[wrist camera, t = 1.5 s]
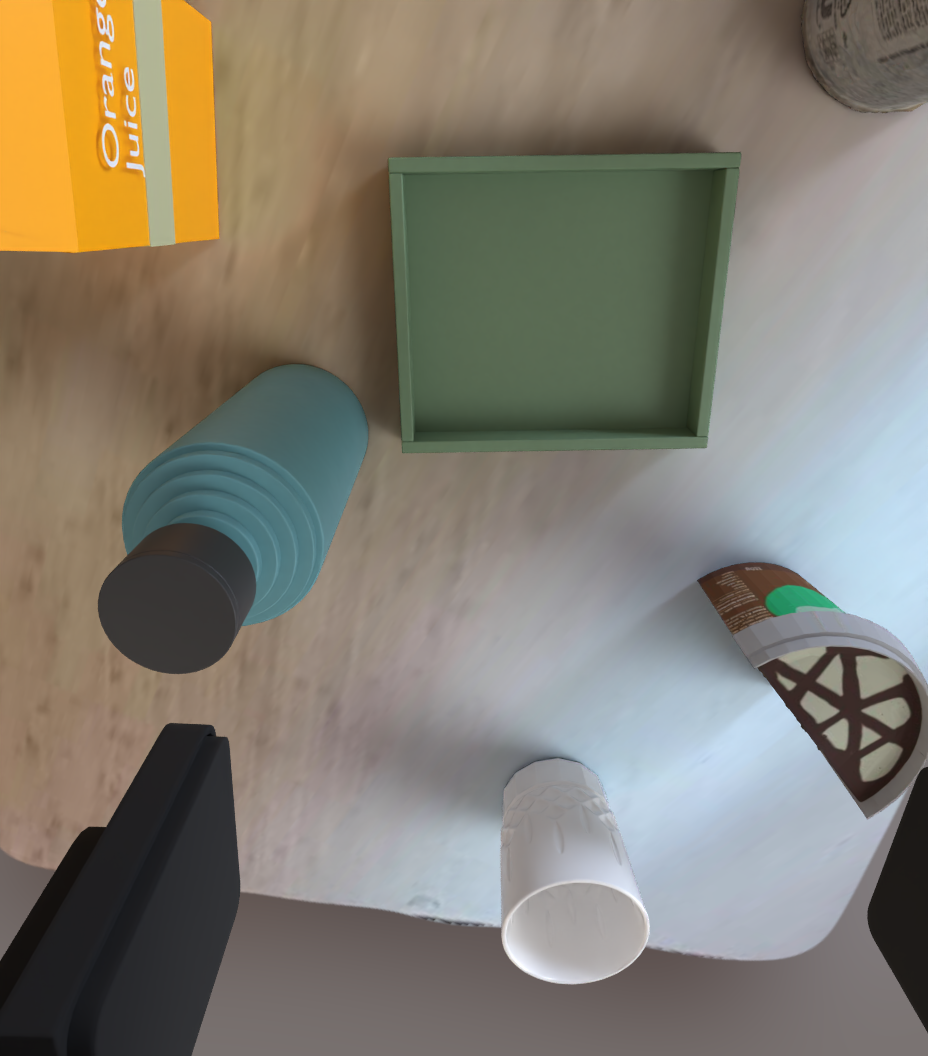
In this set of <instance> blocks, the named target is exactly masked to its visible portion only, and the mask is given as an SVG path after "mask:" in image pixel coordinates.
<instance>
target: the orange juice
mask: <svg viewBox="0 0 928 1056" xmlns="http://www.w3.org/2000/svg"><path fill="white" fill-rule="evenodd" d="M212 239H219V220H218V194H217V167H216V140H215V113H214V86H213V60H212V33H211V22H210V21H209V20H208V19H207V18H205V17H204V16H203V15H201V14H200V13H199V12H198V11H196V10H195V9H194V8H193V7H191V6H190V5H189V4H187V3H186V2H185V1H184V0H0V251H54V252H66V253H76V252H86V251H97V250H107V249H117V248H128V247H138V246H148V247H153V246H163V245H173V244H175V243H180V242H191V241H201V240H212Z"/></svg>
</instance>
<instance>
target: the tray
mask: <svg viewBox="0 0 928 1056" xmlns="http://www.w3.org/2000/svg"><path fill="white" fill-rule="evenodd" d="M740 161H741V153H740V152H719V153H656V154H593V155H529V156H466V157H402V158H388V172H389V194H390V214H391V235H392V255H393V275H394V295H395V316H396V336H397V356H398V376H399V397H400V417H401V437H402V453H443V452H503V451H564V450H624V449H684V448H707V441H708V437H707V436H708V432H709V423H710V415H711V406H712V398H713V389H714V381H715V373H716V364H717V356H718V347H719V339H720V330H721V322H722V313H723V305H724V296H725V288H726V280H727V271H728V263H729V254H730V246H731V237H732V229H733V220H734V212H735V203H736V195H737V187H738V178H739V168H738V167H740Z"/></svg>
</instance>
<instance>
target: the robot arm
mask: <svg viewBox="0 0 928 1056" xmlns="http://www.w3.org/2000/svg"><path fill="white" fill-rule="evenodd" d="M239 897H240V874H239V862H238V849H237V836H236V823H235V811H234V798H233V785H232V773H231V760H230V747H229V741H228V738H227V737H216V732H215V729H214V727H213V726H212V725H201V724H178V723H169V724H167V725H166V726H165V727H164V728H163V730H162V731H161V733H160V735H159V737H158V738H157V740H156V742H155V744H154V745H153V747H152V749H151V750H150V752H149V754H148V756H147V757H146V759H145V761H144V763H143V764H142V766H141V768H140V769H139V771H138V773H137V775H136V776H135V778H134V780H133V782H132V783H131V785H130V787H129V789H128V790H127V792H126V794H125V795H124V797H123V799H122V801H121V802H120V804H119V806H118V808H117V809H116V811H115V813H114V815H113V816H112V818H111V820H110V821H109V823H108V825H107V827H88V828H86V829H85V830H84V831H82V832H81V833H80V834H79V836H78V837H77V838H76V840H75V841H74V842H73V844H72V845H71V847H70V849H69V850H68V852H67V853H66V855H65V857H64V858H63V860H62V862H61V863H60V865H59V866H58V868H57V870H56V871H55V873H54V875H53V876H52V878H51V879H50V881H49V883H48V884H47V886H46V888H45V889H44V891H43V893H42V894H41V896H40V897H39V899H38V901H37V902H36V904H35V906H34V907H33V909H32V910H31V912H30V914H29V915H28V917H27V918H26V920H25V922H24V923H23V925H22V927H21V928H20V930H19V932H18V933H17V935H16V936H15V938H14V940H13V941H12V943H11V945H10V946H9V948H8V949H7V951H6V953H5V954H4V956H3V957H2V959H1V961H0V1056H191V1055H192V1052H193V1049H194V1046H195V1043H196V1039H197V1036H198V1033H199V1030H200V1027H201V1024H202V1021H203V1017H204V1014H205V1011H206V1008H207V1005H208V1002H209V999H210V995H211V992H212V989H213V986H214V983H215V979H216V976H217V973H218V970H219V967H220V964H221V961H222V958H223V954H224V951H225V948H226V945H227V942H228V939H229V936H230V932H231V929H232V926H233V923H234V920H235V917H236V913H237V909H238V904H239ZM868 925H869V928H870V932H871V934H872V936H873V938H874V941H875V942H876V944H877V946H878V947H879V949H880V951H881V952H882V954H883V956H884V958H885V960H886V961H887V963H888V965H889V966H890V968H891V970H892V972H893V973H894V975H895V977H896V979H897V980H898V982H899V984H900V985H901V987H902V989H903V991H904V992H905V994H906V996H907V998H908V999H909V1001H910V1003H911V1005H912V1006H913V1008H914V1010H915V1012H916V1013H917V1015H918V1017H919V1018H920V1020H921V1022H922V1023H923V1025H924V1027H925V1029H926V1031H927V1032H928V767H926V768H923V769H922V770H921V771H920V772H919V774H918V776H917V779H916V782H915V784H914V787H913V790H912V792H911V795H910V797H909V800H908V803H907V805H906V808H905V811H904V813H903V816H902V819H901V821H900V824H899V827H898V829H897V832H896V835H895V837H894V840H893V843H892V845H891V848H890V851H889V853H888V856H887V859H886V862H885V864H884V867H883V869H882V872H881V875H880V878H879V880H878V883H877V886H876V888H875V891H874V893H873V896H872V899H871V902H870V904H869V907H868Z"/></svg>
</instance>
